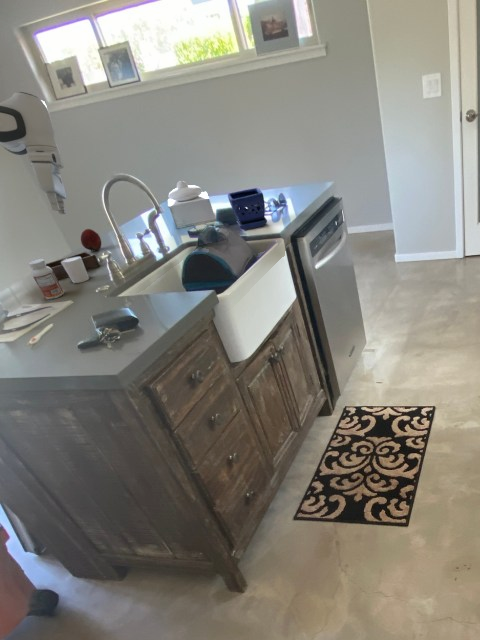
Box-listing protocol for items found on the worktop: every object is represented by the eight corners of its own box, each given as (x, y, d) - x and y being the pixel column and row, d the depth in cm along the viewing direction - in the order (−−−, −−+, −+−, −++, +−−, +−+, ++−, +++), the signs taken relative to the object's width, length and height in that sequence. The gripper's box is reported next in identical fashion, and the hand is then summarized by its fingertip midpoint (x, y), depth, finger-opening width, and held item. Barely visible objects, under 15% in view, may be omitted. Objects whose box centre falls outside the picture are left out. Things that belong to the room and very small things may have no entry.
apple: (108, 248, 215) (99, 227, 210) (92, 254, 211) (82, 232, 206) (98, 247, 219) (89, 226, 213) (82, 252, 214) (72, 231, 209)
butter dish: (213, 212, 242) (201, 173, 232) (215, 220, 229) (203, 179, 219) (175, 220, 240) (161, 180, 229) (176, 229, 227) (161, 187, 216)
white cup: (85, 282, 182) (75, 261, 177) (67, 284, 182) (56, 263, 178) (94, 275, 187) (84, 255, 182) (76, 277, 187) (66, 257, 183)
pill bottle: (50, 293, 176) (32, 259, 169) (67, 291, 176) (49, 257, 168) (42, 300, 172) (22, 265, 164) (59, 298, 171) (40, 263, 164)
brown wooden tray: (52, 281, 187) (46, 270, 185) (44, 277, 193) (38, 266, 190) (100, 266, 196) (94, 254, 193) (91, 262, 201) (86, 251, 198)
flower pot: (271, 225, 211) (263, 192, 203) (239, 232, 208) (230, 199, 200) (265, 219, 220) (258, 187, 212) (235, 225, 218) (226, 193, 210)
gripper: (42, 166, 166) (55, 215, 171) (25, 152, 148) (40, 208, 154) (64, 166, 167) (76, 215, 173) (49, 153, 150) (64, 208, 156)
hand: (59, 212), depth 163 cm, fingers open, 8 cm apart
